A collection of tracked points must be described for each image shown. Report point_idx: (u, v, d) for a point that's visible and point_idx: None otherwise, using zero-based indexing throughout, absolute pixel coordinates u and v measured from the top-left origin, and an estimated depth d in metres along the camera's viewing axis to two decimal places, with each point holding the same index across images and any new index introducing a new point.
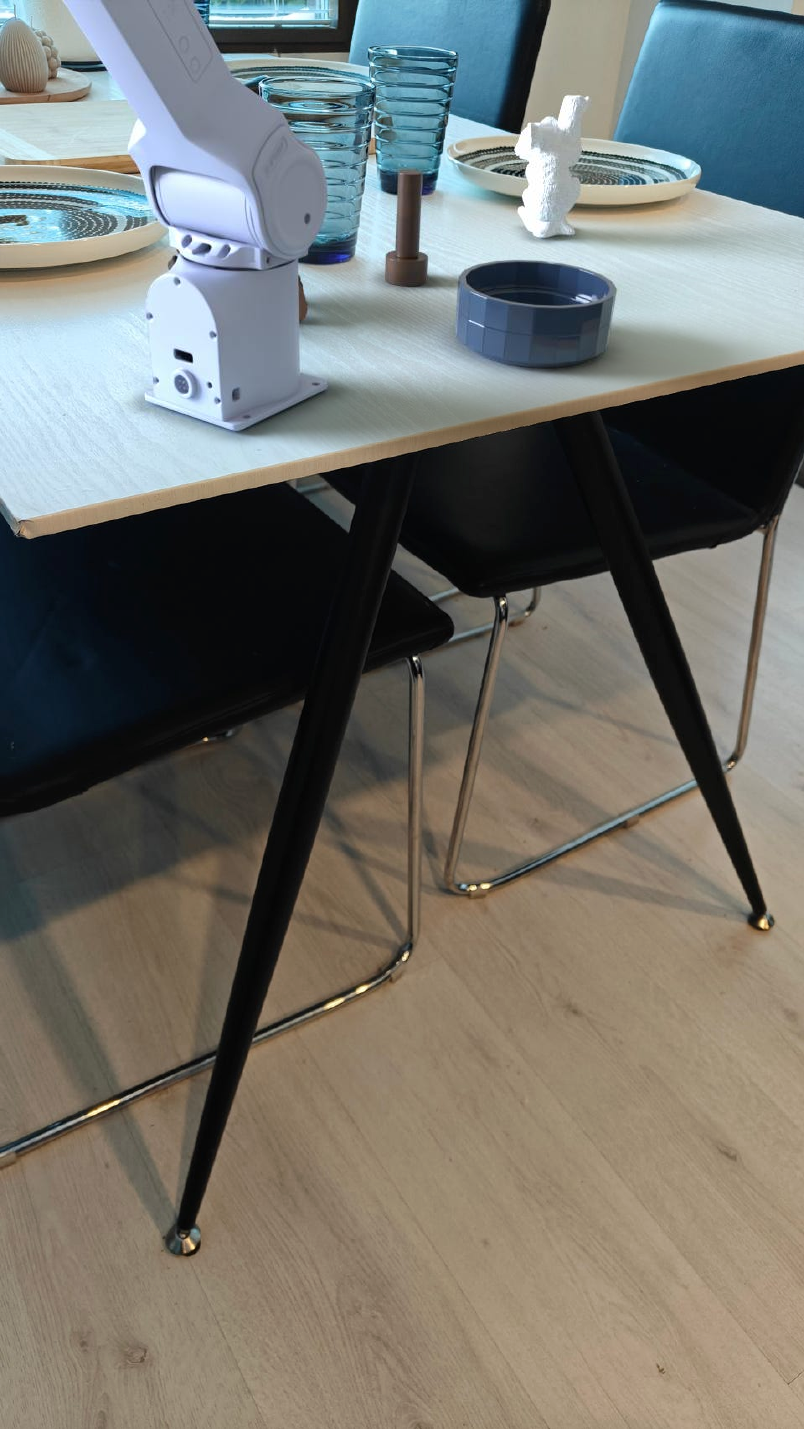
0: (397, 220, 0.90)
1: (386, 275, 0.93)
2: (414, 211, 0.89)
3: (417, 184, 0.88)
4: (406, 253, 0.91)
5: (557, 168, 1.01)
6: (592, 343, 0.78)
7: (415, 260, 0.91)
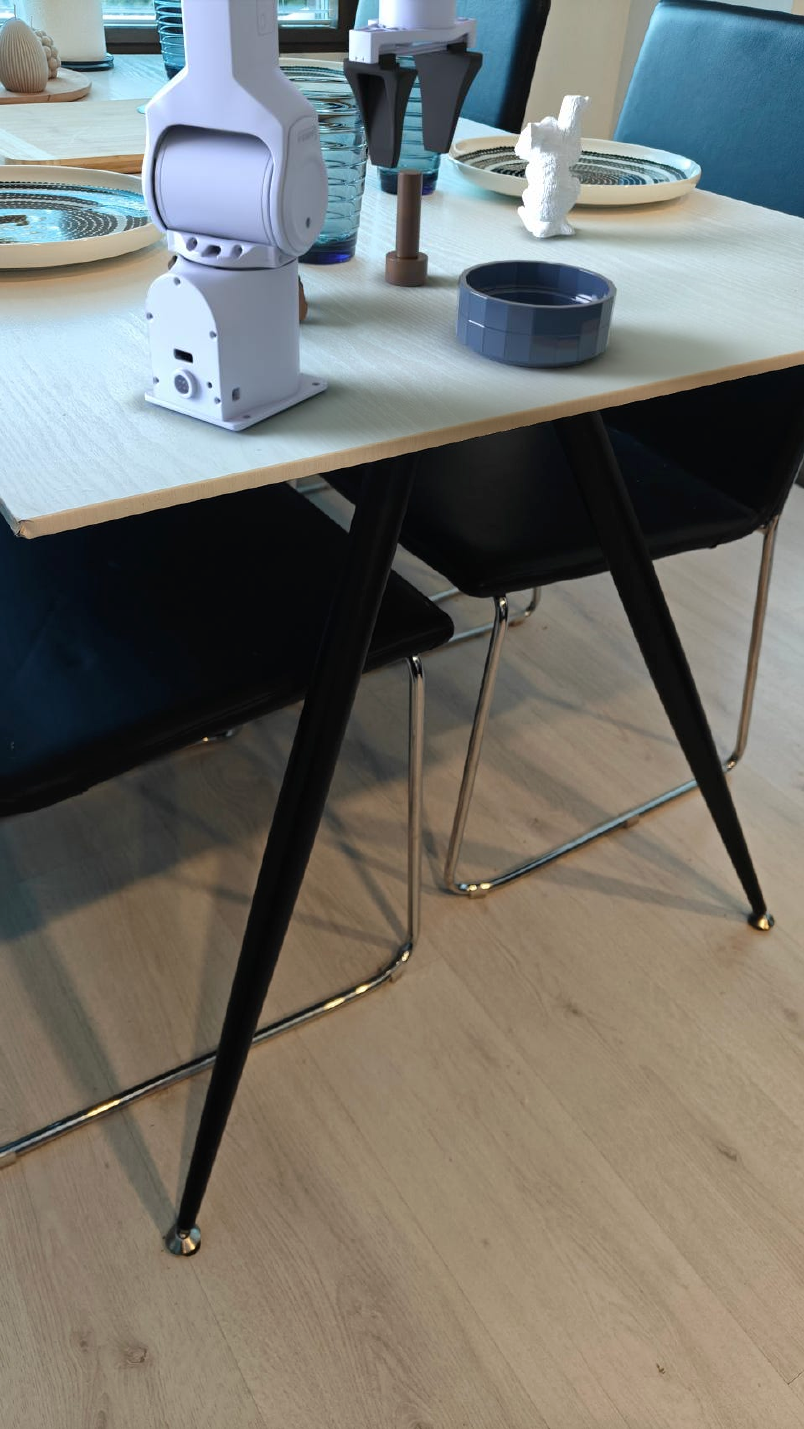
0: (397, 220, 0.90)
1: (386, 275, 0.93)
2: (414, 211, 0.89)
3: (417, 184, 0.88)
4: (406, 253, 0.91)
5: (557, 168, 1.01)
6: (592, 343, 0.78)
7: (415, 260, 0.91)
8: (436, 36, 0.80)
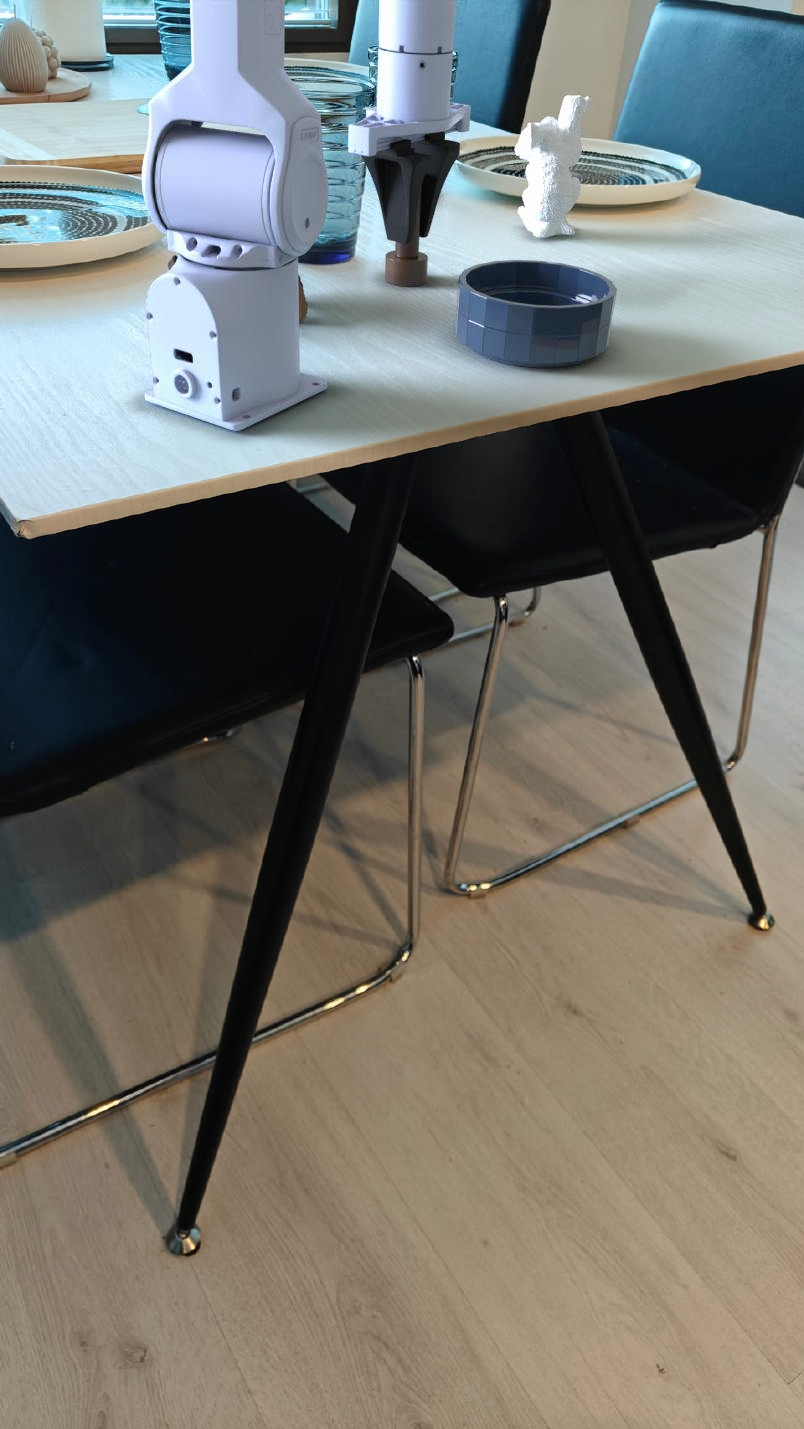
0: None
1: (386, 275, 0.93)
2: None
3: None
4: (406, 253, 0.91)
5: (557, 168, 1.01)
6: (592, 343, 0.78)
7: (414, 260, 0.91)
8: (431, 128, 0.84)
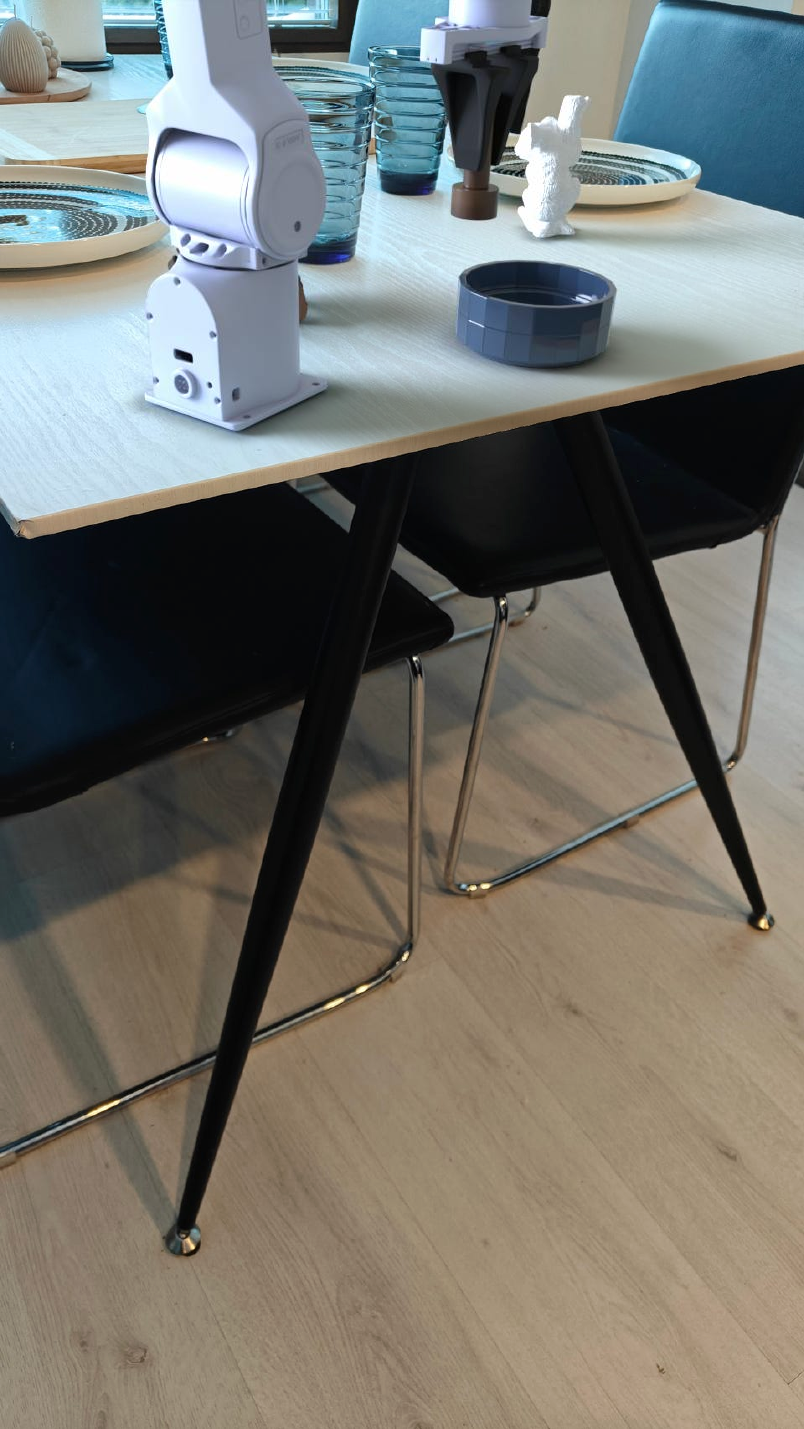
0: None
1: (452, 209, 0.83)
2: None
3: None
4: (476, 183, 0.82)
5: (557, 168, 1.01)
6: (592, 343, 0.78)
7: (485, 191, 0.82)
8: (512, 35, 0.75)
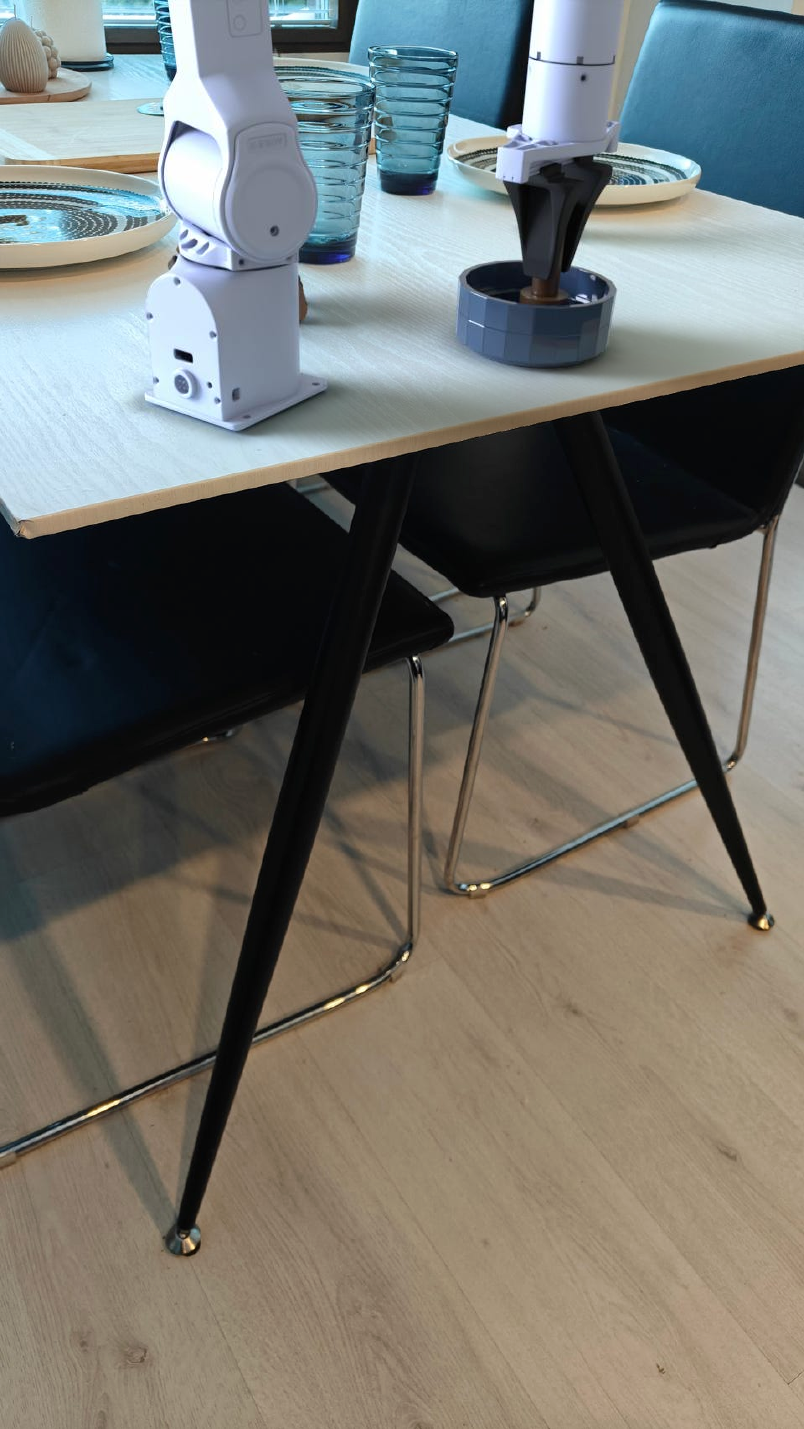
0: None
1: None
2: None
3: None
4: (545, 290, 0.80)
5: None
6: (592, 343, 0.78)
7: (555, 298, 0.80)
8: (588, 149, 0.73)
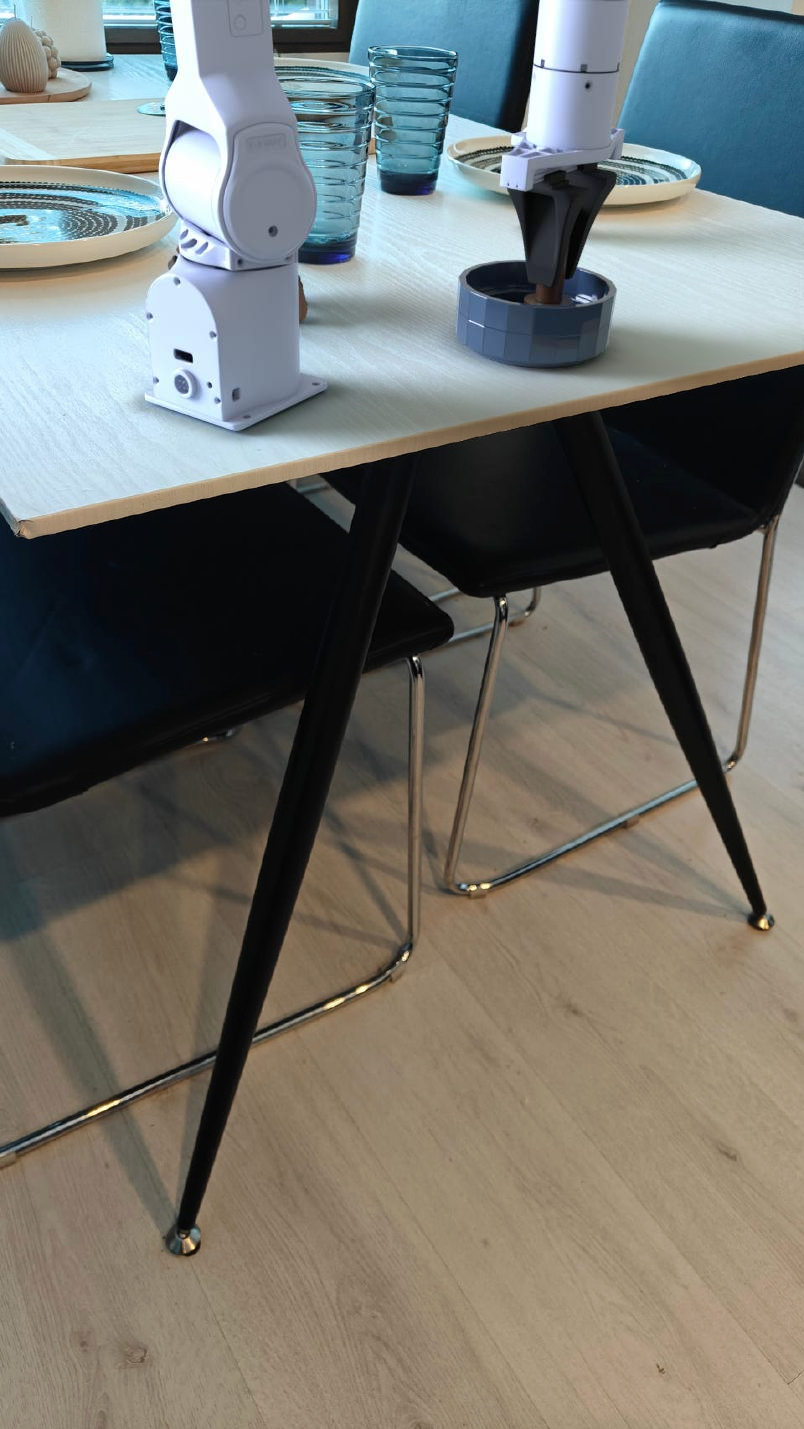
0: None
1: None
2: None
3: None
4: (549, 297, 0.80)
5: None
6: (592, 343, 0.78)
7: (559, 305, 0.80)
8: (593, 157, 0.73)
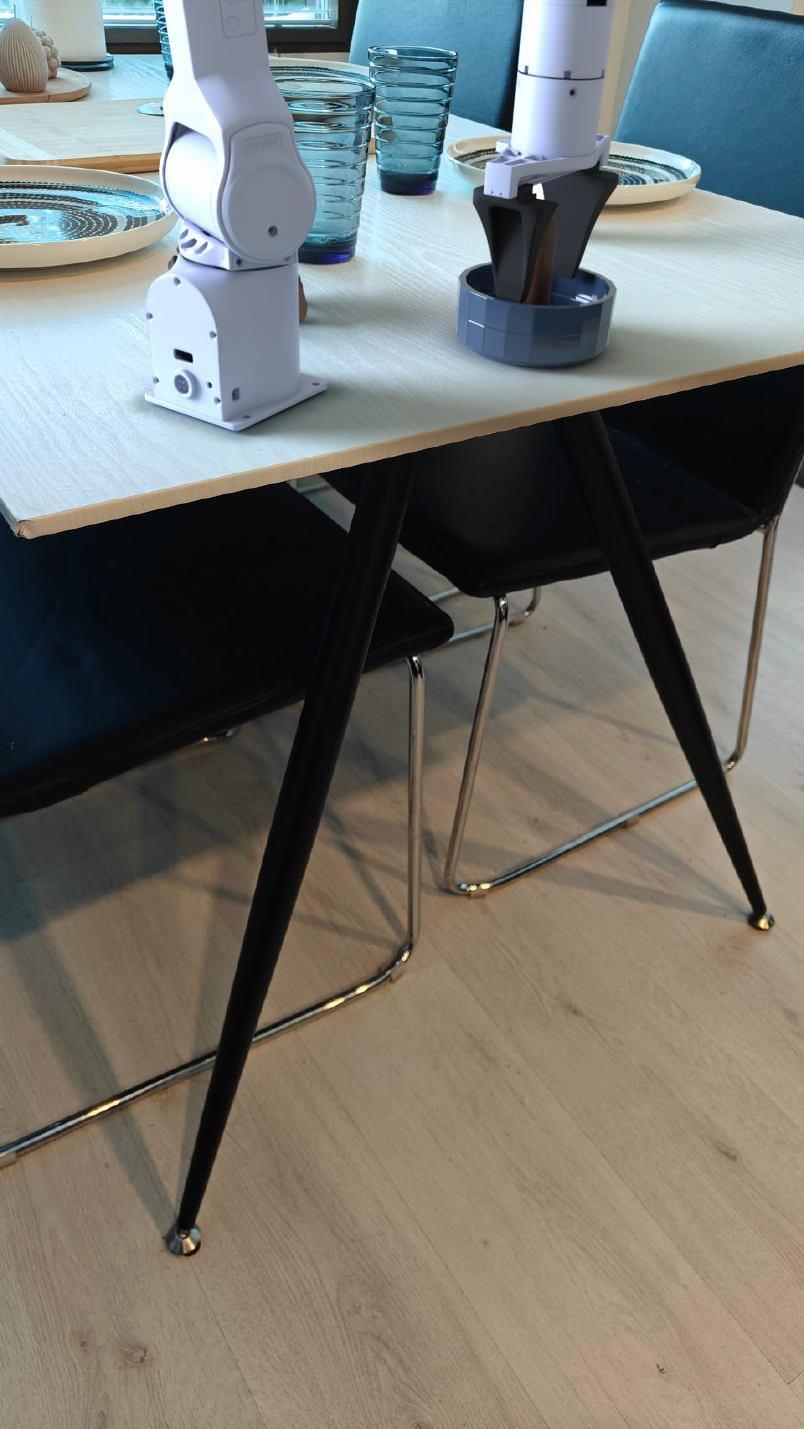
0: None
1: None
2: (548, 260, 0.78)
3: (553, 229, 0.76)
4: None
5: None
6: (592, 343, 0.78)
7: None
8: (578, 164, 0.72)
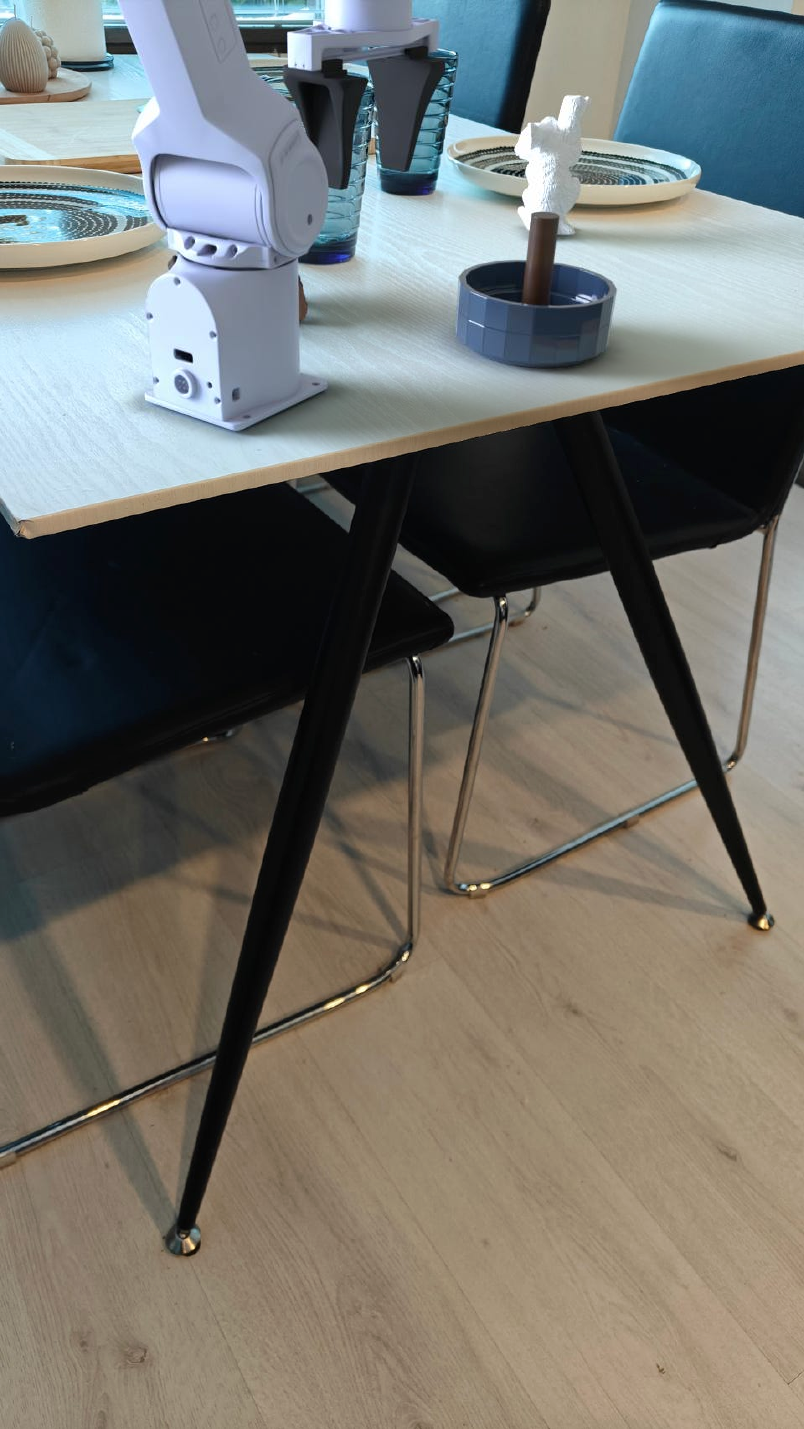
0: (527, 269, 0.78)
1: None
2: (548, 260, 0.78)
3: (553, 229, 0.76)
4: None
5: (557, 168, 1.01)
6: (592, 343, 0.78)
7: None
8: (389, 39, 0.70)
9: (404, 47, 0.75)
